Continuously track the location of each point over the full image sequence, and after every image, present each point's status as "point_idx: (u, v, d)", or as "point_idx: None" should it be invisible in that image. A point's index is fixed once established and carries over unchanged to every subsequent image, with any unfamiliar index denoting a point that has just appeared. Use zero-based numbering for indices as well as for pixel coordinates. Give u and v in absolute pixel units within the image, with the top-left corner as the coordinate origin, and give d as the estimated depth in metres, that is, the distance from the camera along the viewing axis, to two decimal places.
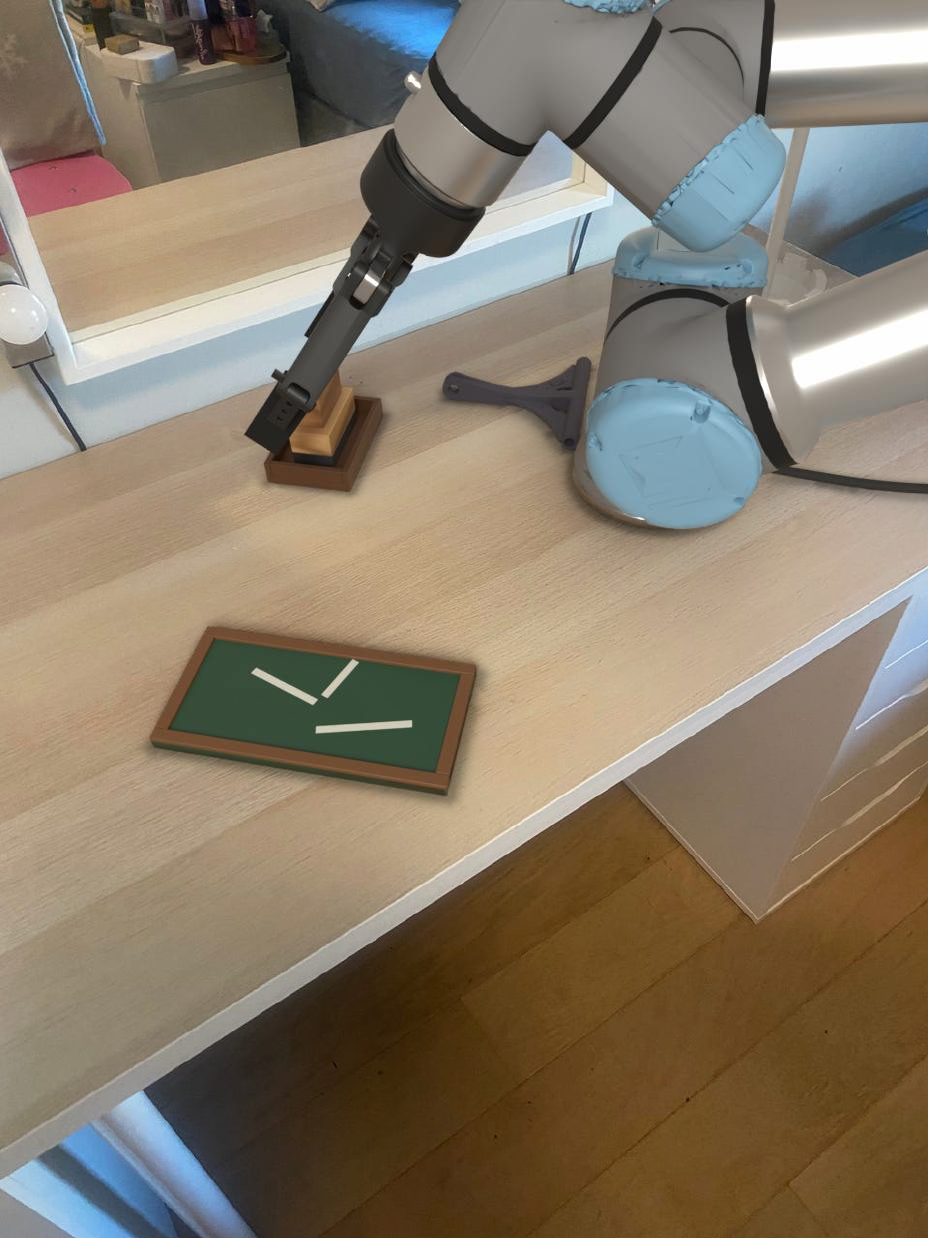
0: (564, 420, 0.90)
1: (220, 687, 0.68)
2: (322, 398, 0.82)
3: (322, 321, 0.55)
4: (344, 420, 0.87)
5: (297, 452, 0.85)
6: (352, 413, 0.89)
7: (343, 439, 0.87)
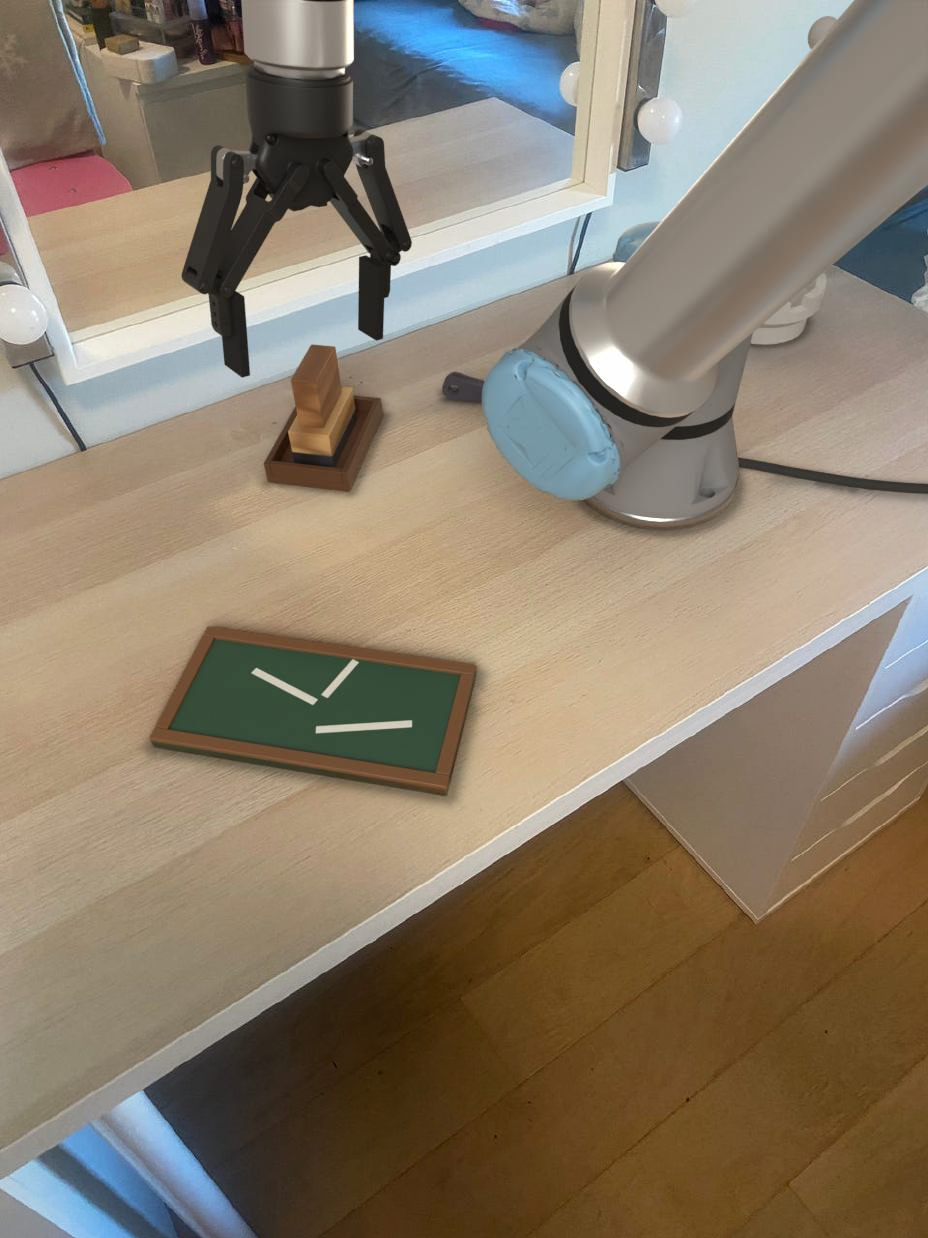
0: None
1: (220, 687, 0.68)
2: (322, 398, 0.82)
3: (203, 207, 0.65)
4: (344, 420, 0.87)
5: (297, 452, 0.85)
6: (352, 413, 0.89)
7: (343, 439, 0.87)
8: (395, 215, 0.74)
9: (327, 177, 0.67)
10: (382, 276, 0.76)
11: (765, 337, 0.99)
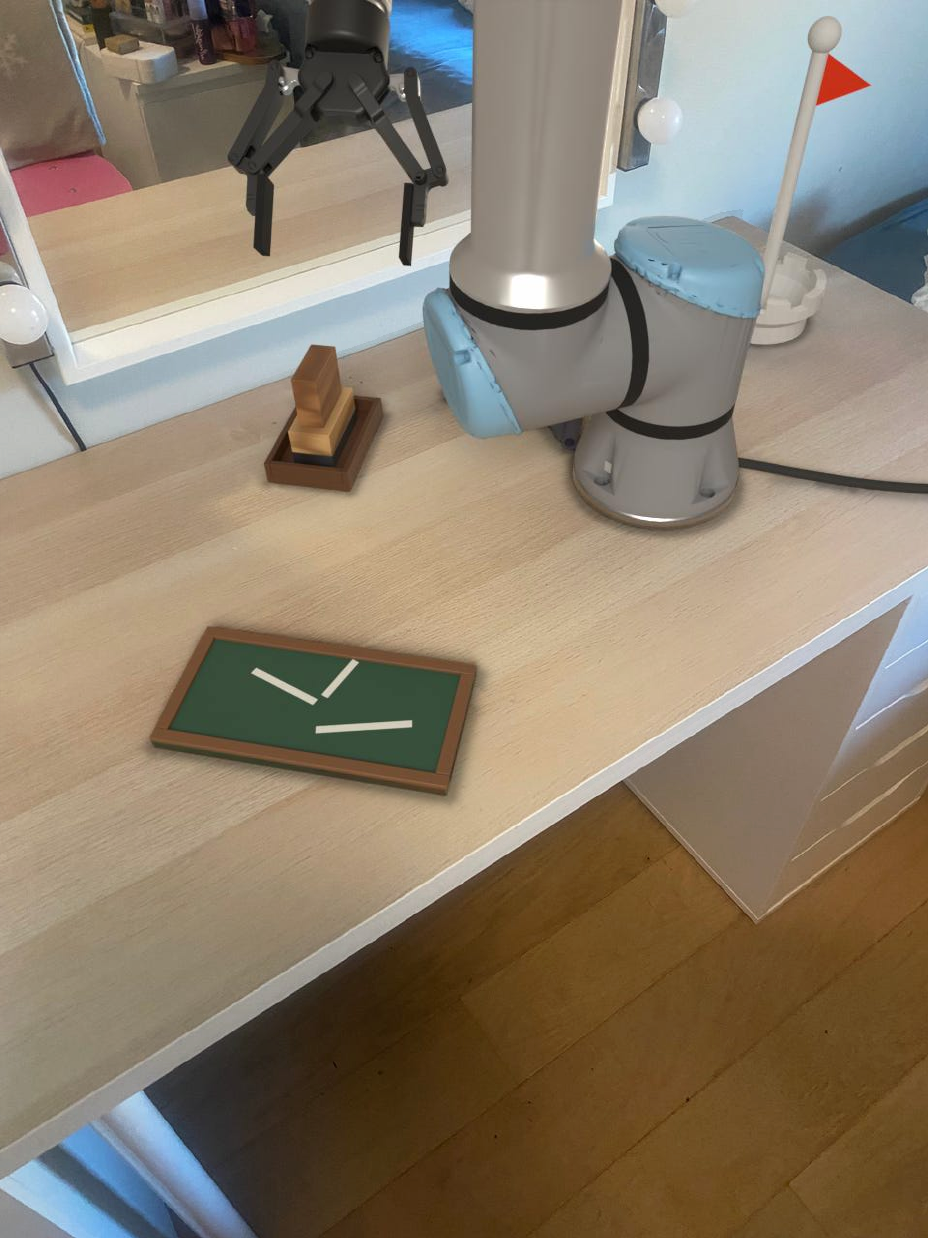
0: None
1: (220, 687, 0.68)
2: (322, 398, 0.82)
3: None
4: (344, 420, 0.87)
5: (297, 452, 0.85)
6: (352, 413, 0.89)
7: (343, 439, 0.87)
8: (427, 139, 0.80)
9: (349, 84, 0.80)
10: (408, 192, 0.81)
11: (765, 337, 0.99)
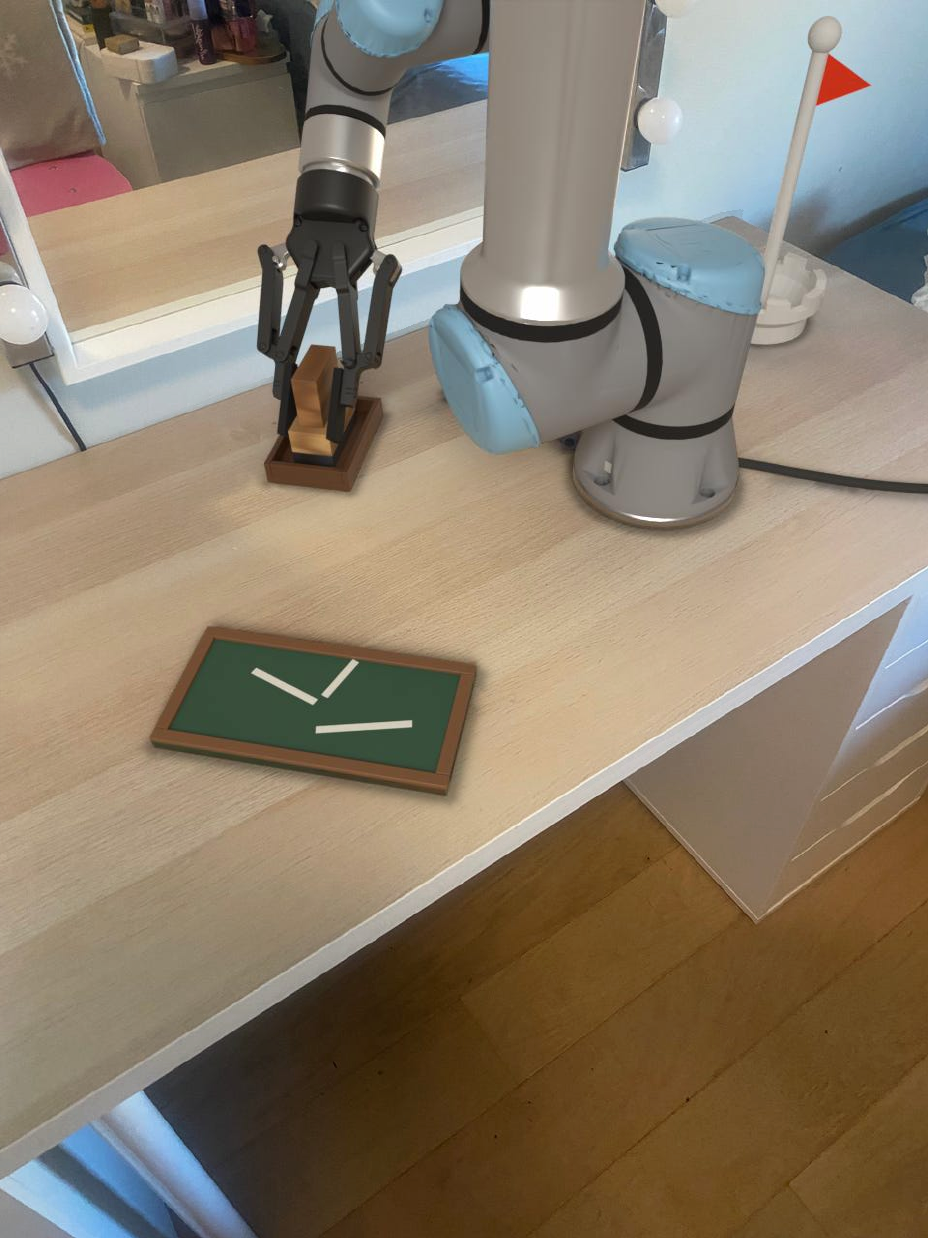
0: None
1: (220, 687, 0.68)
2: (322, 398, 0.82)
3: None
4: None
5: (297, 451, 0.85)
6: (352, 412, 0.89)
7: (343, 439, 0.87)
8: (373, 324, 0.81)
9: (333, 253, 0.80)
10: (337, 377, 0.81)
11: (765, 337, 0.99)
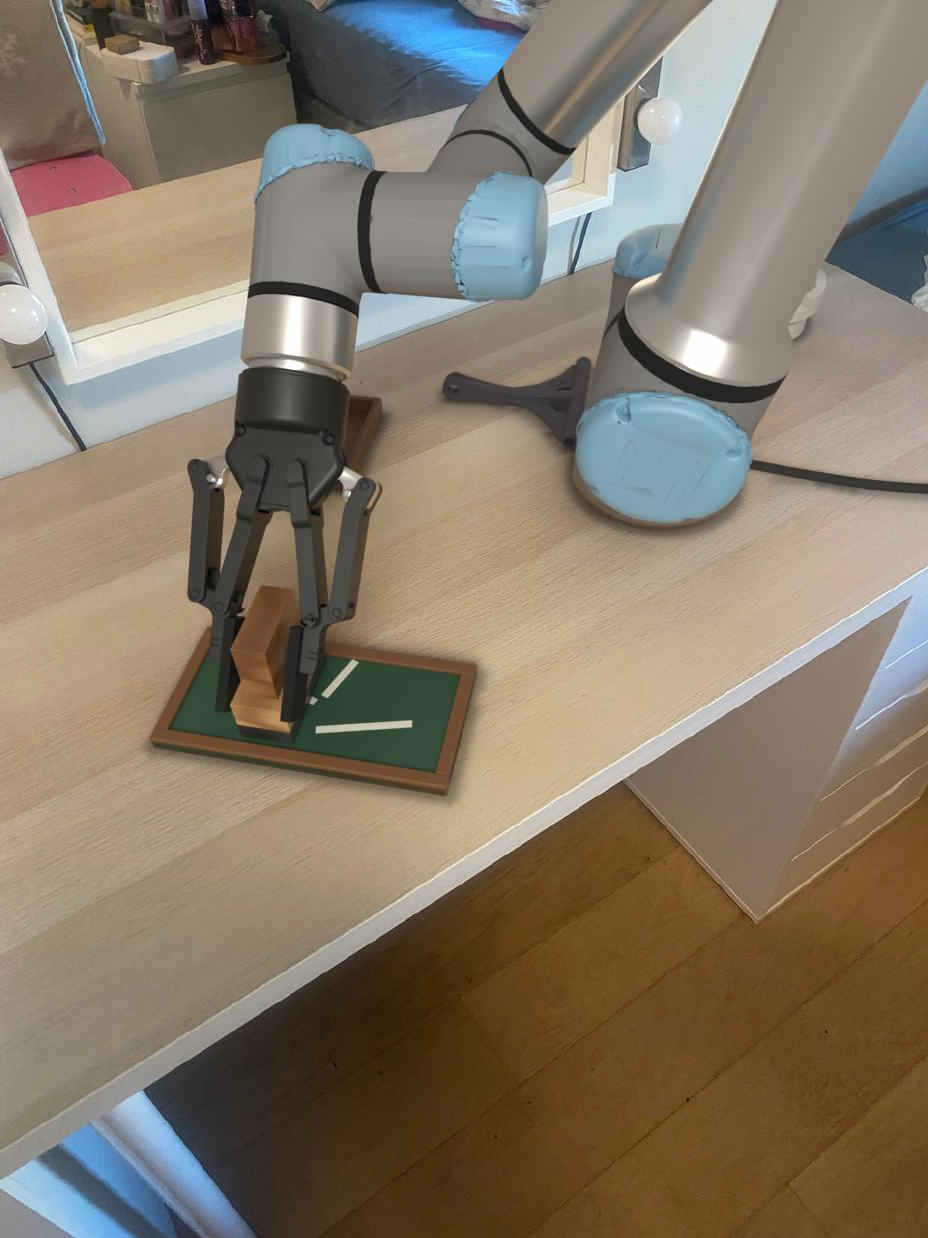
0: (564, 420, 0.90)
1: None
2: (275, 665, 0.61)
3: None
4: None
5: (244, 725, 0.64)
6: None
7: (307, 698, 0.66)
8: (342, 570, 0.60)
9: (288, 476, 0.59)
10: (295, 640, 0.60)
11: None
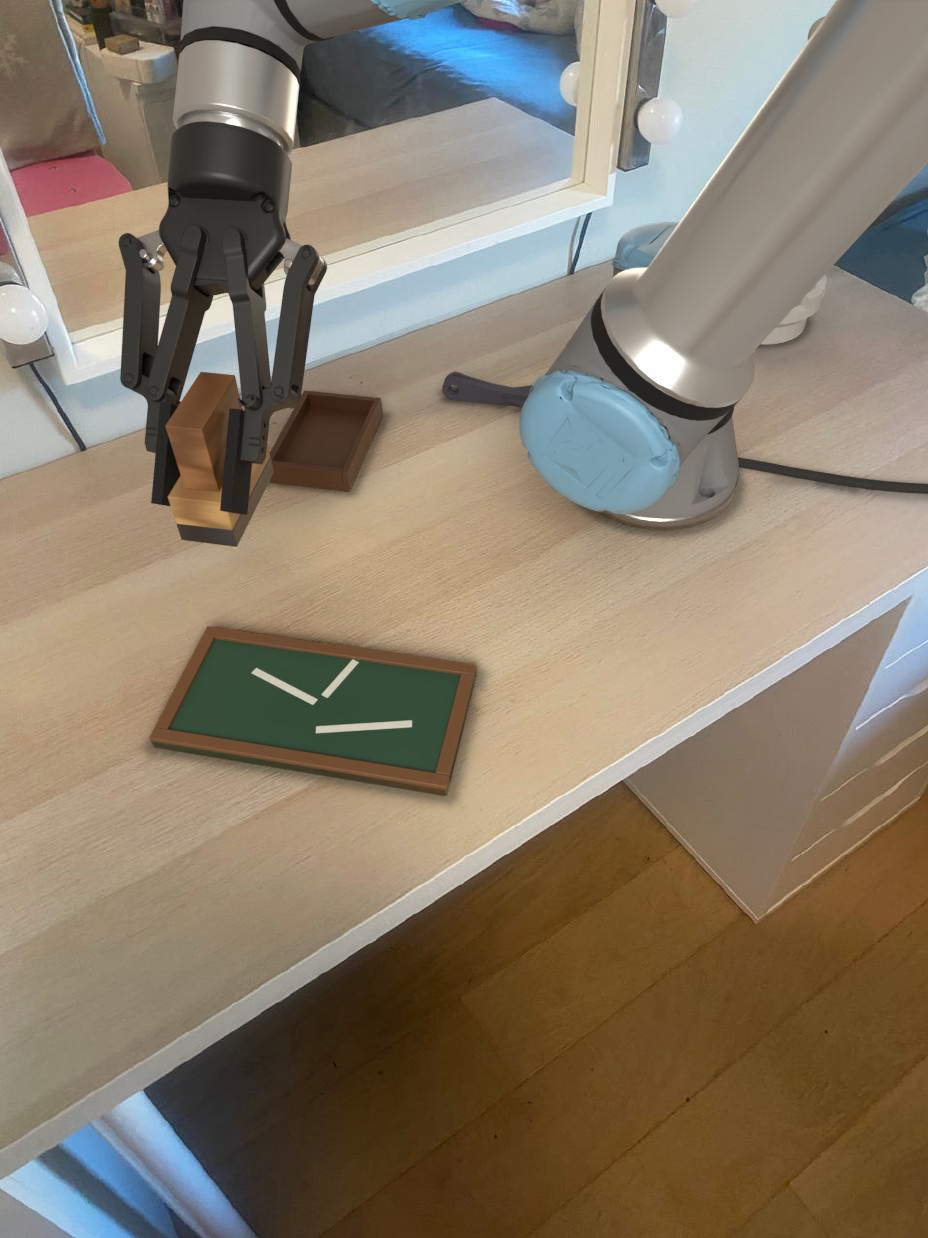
0: None
1: (220, 687, 0.68)
2: (215, 450, 0.57)
3: None
4: (252, 477, 0.62)
5: (184, 523, 0.60)
6: (266, 464, 0.64)
7: (252, 503, 0.62)
8: (284, 346, 0.56)
9: (225, 244, 0.56)
10: (235, 422, 0.57)
11: None
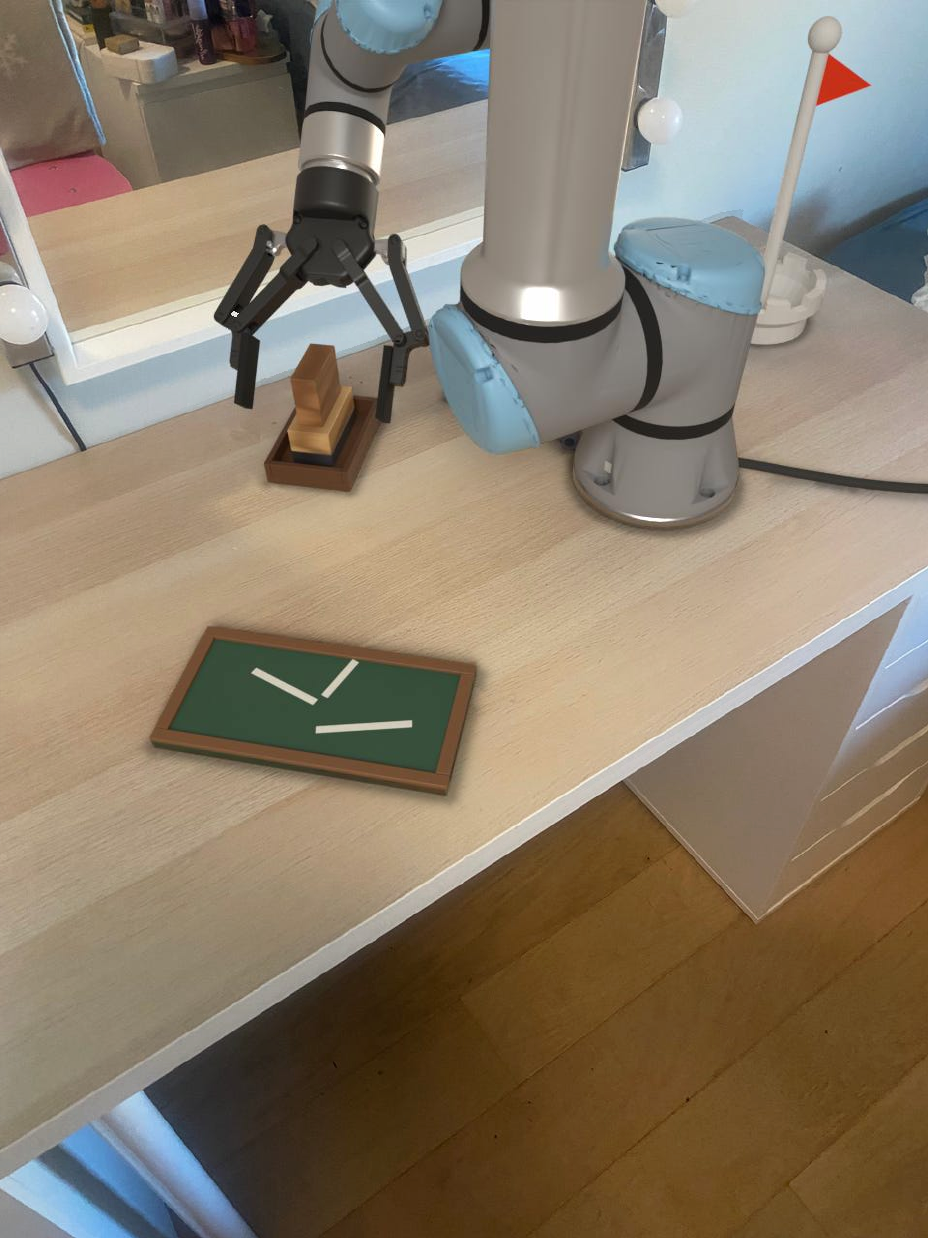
0: None
1: (220, 687, 0.68)
2: (321, 397, 0.82)
3: None
4: (343, 419, 0.87)
5: (296, 451, 0.85)
6: (351, 411, 0.89)
7: (342, 438, 0.87)
8: (408, 303, 0.80)
9: (333, 250, 0.80)
10: (387, 355, 0.80)
11: (765, 337, 0.99)
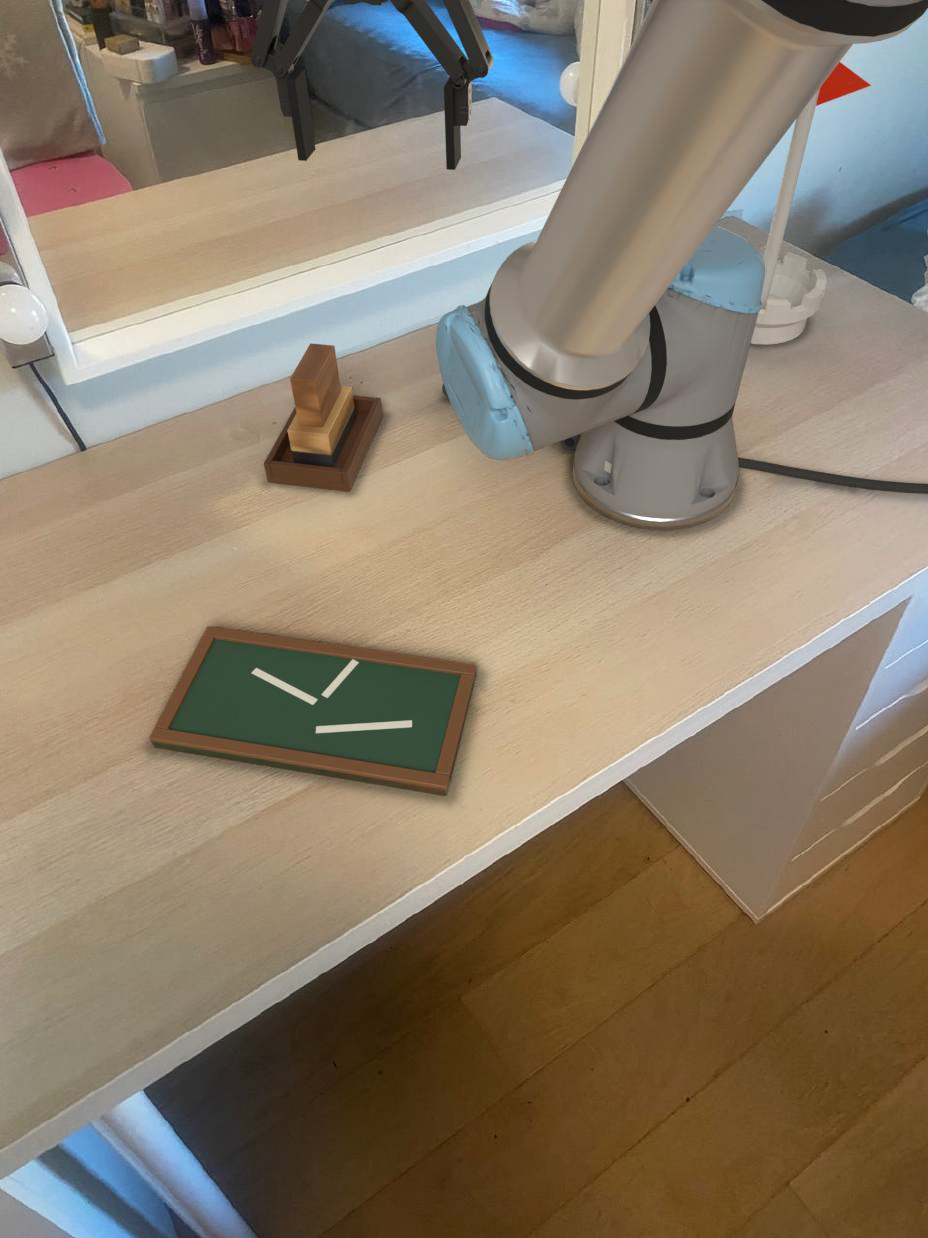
0: None
1: (220, 687, 0.68)
2: (321, 397, 0.82)
3: None
4: (343, 419, 0.87)
5: (296, 451, 0.85)
6: (351, 411, 0.89)
7: (342, 438, 0.87)
8: (464, 32, 0.70)
9: None
10: (449, 98, 0.74)
11: (765, 337, 0.99)
